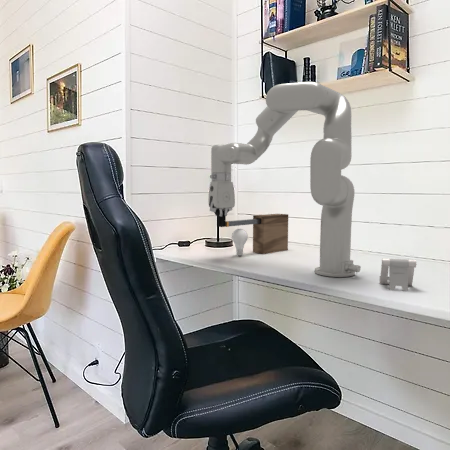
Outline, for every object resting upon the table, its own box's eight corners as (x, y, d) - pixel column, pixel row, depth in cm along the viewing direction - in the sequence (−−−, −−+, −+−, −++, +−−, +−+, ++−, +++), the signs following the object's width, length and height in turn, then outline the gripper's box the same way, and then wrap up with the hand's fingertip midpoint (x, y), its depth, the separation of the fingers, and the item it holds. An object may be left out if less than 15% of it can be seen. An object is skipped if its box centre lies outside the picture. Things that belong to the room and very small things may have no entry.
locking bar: (269, 222, 180) (269, 218, 180) (227, 226, 163) (227, 221, 163) (264, 222, 182) (264, 217, 182) (222, 226, 165) (222, 221, 165)
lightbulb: (228, 255, 172) (228, 228, 170) (240, 254, 175) (240, 227, 174) (238, 258, 166) (238, 230, 165) (250, 256, 170) (251, 228, 169)
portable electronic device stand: (411, 285, 123) (412, 256, 122) (415, 291, 116) (417, 261, 115) (379, 283, 125) (380, 255, 125) (382, 289, 118) (383, 259, 117)
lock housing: (287, 249, 187) (288, 214, 186) (263, 254, 176) (263, 216, 175) (277, 248, 192) (277, 213, 190) (252, 252, 181) (253, 215, 179)
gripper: (213, 177, 153) (213, 228, 155) (242, 178, 163) (241, 226, 165) (199, 177, 159) (199, 227, 160) (228, 178, 169) (228, 224, 171)
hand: (221, 226), depth 163 cm, fingers closed
